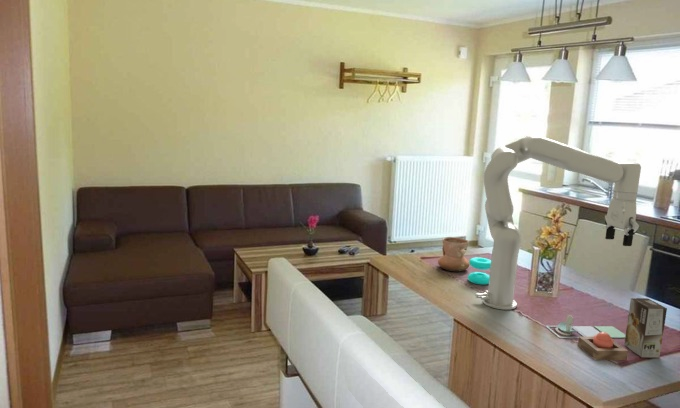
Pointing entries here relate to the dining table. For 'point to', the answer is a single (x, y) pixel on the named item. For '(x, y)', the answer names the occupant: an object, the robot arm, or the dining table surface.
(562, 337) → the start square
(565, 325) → the pacifier
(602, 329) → the pad
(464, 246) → the ceramic jug
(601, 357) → the box
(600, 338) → the popper button
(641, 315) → the coffee box
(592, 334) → the mid pad
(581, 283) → the dining table surface
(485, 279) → the donuts
